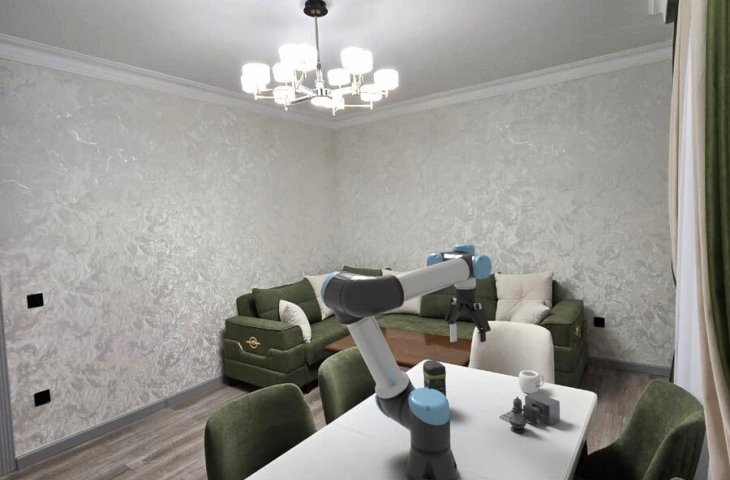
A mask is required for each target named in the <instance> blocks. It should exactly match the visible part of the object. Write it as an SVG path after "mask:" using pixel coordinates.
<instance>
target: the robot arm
mask: <svg viewBox="0 0 730 480" xmlns="http://www.w3.org/2000/svg"><path fill="white" fill-rule="evenodd" d="M425 262H426V266H424V267H421V268H417V269H415V270H411V271H408V272H405V273H401V274H398V275H395V274H393V273H388V274H385V275H366V274H360V273H353V272H349V271H345V270H343V271H334V272H333V273H331V274H328V276H327V277H326V278H325V279H324V281H323V282H322V285H321V288H320V298H321V302H322V303H323V304H324V305H325V306H326V307H327V308H328V309H330V310H332V312H333V313H334V316H335V317H336V319H337V321H338V323H339V324H340V325H341V326H345V327H347V329H348V331H349V333H350V335H351V337H352V339H353V341H354V343H355V345H356V346H357V350H358V351H359V353H360V354H361V356H362V359H363V360H364V362H365V364H366V366H367V369H368V370H369V373H370V374H371V376H372V378H373V380H374V382H375V384H376V385H375V387H374V391H375V395H374V396H375V399H374V400H375V404H376V406H377V409H379V411H380V412H381V413H382V414H383V415H384V416H386V418H390V419H391V420H393V421H395V423H397V424H399V425H401V426H402V427H404V428H406V429H407V430H408V431H409V433H410V435H409V436H410V449H409V452H408V457H407V458H406V462H405V475H406V477H407V479H408V480H458V474H459V473H458V465H457V462H456V459H455V456H454V454H453V451H452V448H451V409H450V402H449V400H448V398H447V395H446V396H445V395H444V394H442V393H441V392H439V391H437V390H435V389H428V388H424V387H419V388H415V386H414V384H413V383H412V381H411V379H410V377H409V375H408V374H407V372H405V371H403V370H400V367H399V365H398V363H397V361H396V359H395V356H394V355H393V353H392V350H391V349H390V347H389V344H388V343H387V340H386V339H385V337H384V334H383V332H382V330H381V329H380V327H379V324H378V321H377V320H376V318H375V317H376V316H378V315H382V314H385V313H388V312H391V311H394V310H397V309H399V308H401V307H402V306H403V305H404V303H405V302H408V301H411V300H414V299H416V298H419V297H422V296H425V295H428V294H431V293H433V292H436V291H440V290H442V289H445V288H448V287H451V286H454V297H453V298H450V299H449V304H448V307H447V311H446V314H445V317H444V322H446V323H447V324H448V332H449V340H450V341H449V342H450V343H454V342H458V333H457V332H458V331H457V322H456V321H457V320H458V318H459V317H460V316H461V315H462V314H465V315H468V316H469V317H470V318H471V320H472V321H473V323H474V325H475V327H476V328H477V330H478V332H477V333H476V335H477V338H476V339H477V352H483V351H485V350H486V342H487V333H488V332H491V330H492V329H491V326H490V323H489V321H488V318H487V316H486V313H485V310H484V305H483V302H480V303H479V302H478V303H476V299H477V289H476V286H477V281H476V280H477V279H478V280H482V279H483V280H484V279H486V278H489V277H490V275H491V272H492V270H493V265H492V260H491V259H490V257H489V256H487V255H485V254H480V253H476V249H475V246H474V244H471V243H459V244H454V245H453V247H452V251H442V252H434V253H430V254H429V255H428V256H427V258H426V261H425Z"/></svg>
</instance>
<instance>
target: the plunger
mask: <svg viewBox="0 0 730 480" xmlns="http://www.w3.org/2000/svg"><path fill="white" fill-rule="evenodd" d="M522 409H523V411H522V416H523V418H525V419H526V420H527V423H528V422H529V423H531V424H533V425H534V426H536V425H538V422H539V421H538V417H540V416H542V407H541V406H538V405H536V406H534V407H529V406H527V405H525V404H524V405H523V404H522ZM511 412H513V409H511Z"/></svg>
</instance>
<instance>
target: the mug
mask: <svg viewBox="0 0 730 480" xmlns="http://www.w3.org/2000/svg"><path fill="white" fill-rule="evenodd" d="M518 382H519V383H518V384H519V386H520V387H519V388H520V389H521V391H522V392H523V393H525V394H527V395H529V394H531V393H534V392H537V393H539V390H540V388H541V387H543V386H544V383H545V378H544V376H543V374H540V373H539V372H537V371H534V370H528V369H527V370H521V371H519V374H518Z"/></svg>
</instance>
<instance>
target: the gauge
mask: <svg viewBox="0 0 730 480" xmlns="http://www.w3.org/2000/svg"><path fill="white" fill-rule="evenodd" d="M524 405H527V406H529V407H534V406H536V405H538V406H541V407H542V415H541V424H543V425H545V426H547V427H549V428H550V427H552V426H555V425H557V424H558V423H560V422H561V407H560V406H561V405H560V400H557V399H554V398H553V397H552V398H551V397H550V396H547V395H544V394H543V393H542V394H541V393H539V392H534V393H531V394H527V395H525V396H524ZM511 416H513V412H511V411H510V410H509V411H507V412H505V413H504V414H501V415H499V419H500V420H503V421H505V422H508V423H509V424H511V423H510V420H509V418H510V417H511Z"/></svg>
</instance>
